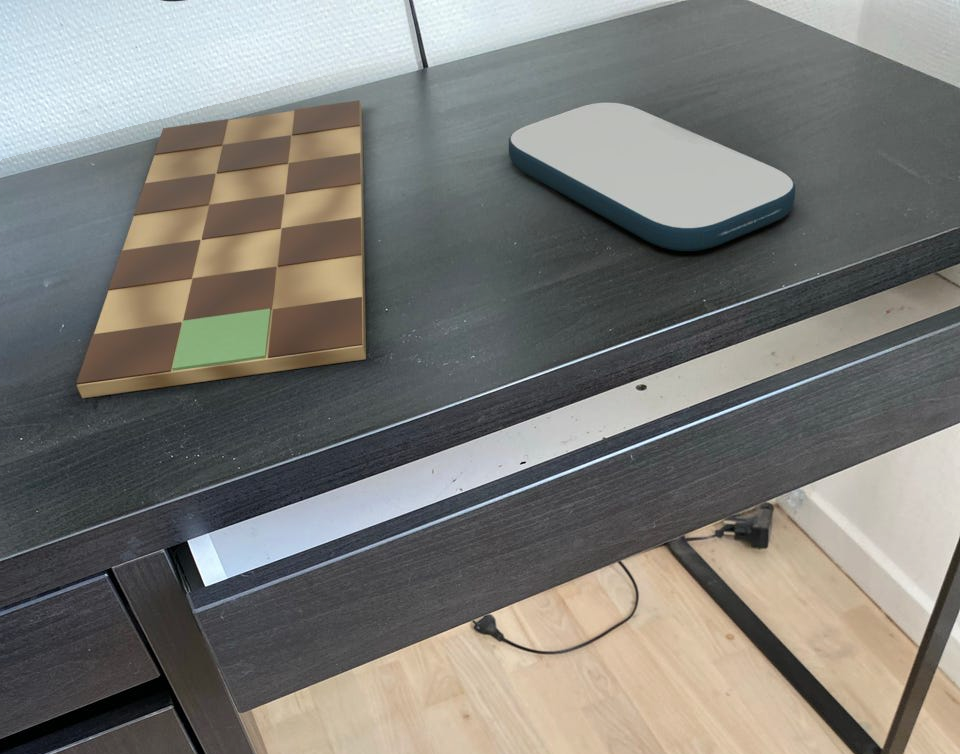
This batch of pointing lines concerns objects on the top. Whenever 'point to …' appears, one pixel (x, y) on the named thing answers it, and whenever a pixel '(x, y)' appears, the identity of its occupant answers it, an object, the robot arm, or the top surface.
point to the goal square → (222, 339)
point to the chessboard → (240, 249)
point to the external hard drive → (652, 175)
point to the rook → (173, 0)
